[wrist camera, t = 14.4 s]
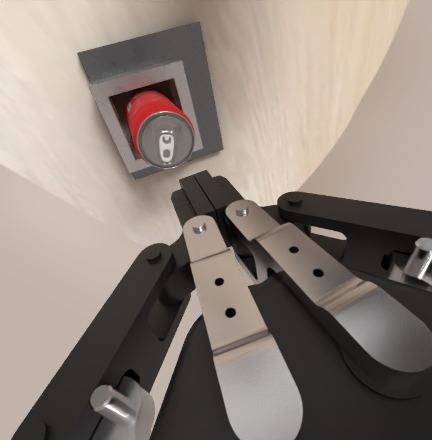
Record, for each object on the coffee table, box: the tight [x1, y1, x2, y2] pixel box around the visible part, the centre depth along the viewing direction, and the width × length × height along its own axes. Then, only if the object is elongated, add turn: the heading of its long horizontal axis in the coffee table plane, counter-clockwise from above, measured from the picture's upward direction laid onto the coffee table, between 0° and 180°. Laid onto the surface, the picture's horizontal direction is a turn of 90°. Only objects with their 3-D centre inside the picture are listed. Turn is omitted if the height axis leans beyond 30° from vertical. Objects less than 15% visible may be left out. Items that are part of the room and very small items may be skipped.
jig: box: [77, 22, 223, 180], centre depth 28 cm, size 12×14×4 cm
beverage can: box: [126, 88, 195, 169], centre depth 25 cm, size 5×5×12 cm
